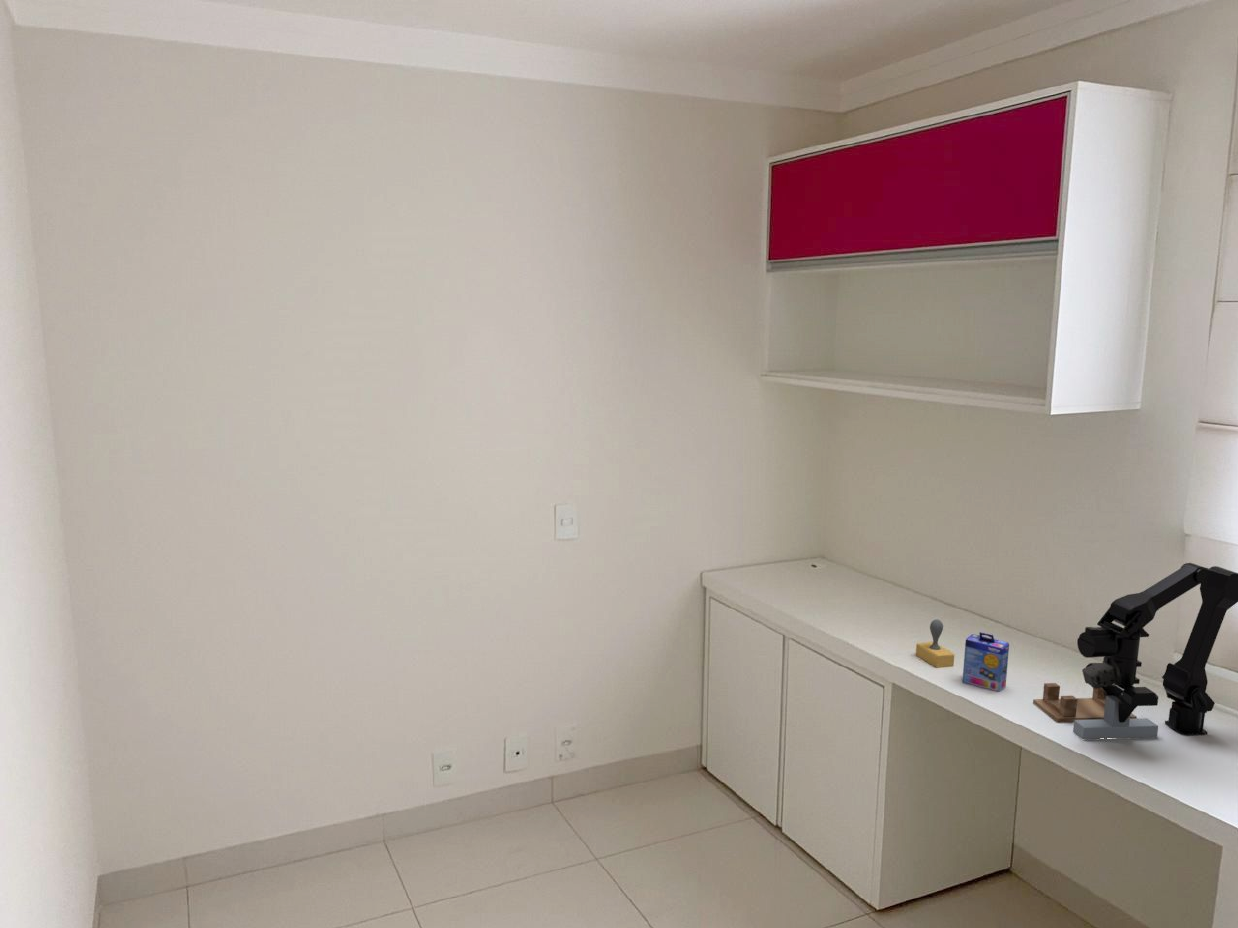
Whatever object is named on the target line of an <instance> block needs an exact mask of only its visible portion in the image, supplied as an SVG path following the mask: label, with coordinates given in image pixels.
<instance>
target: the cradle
mask: <svg viewBox="0 0 1238 928" xmlns="http://www.w3.org/2000/svg"><path fill="white" fill-rule="evenodd" d="M1060 689H1061V686H1060V685H1059V684H1058V683H1056V682H1050V683H1048V682H1046V683H1045V682H1044V683H1043V692H1042V698H1036V699H1035V698H1034V699H1033V700H1032V703H1033V705H1035V706H1036V707H1037V708H1039V709H1040V711H1042V710H1043V711H1042V712H1044V713H1045V714H1046V715H1047V716H1048V715H1049V718H1051V717H1052V718H1051V719H1052V720H1053V719H1054V720H1053V721H1055V722H1056V723H1074V720H1096V719H1103V718H1104V709H1105V696H1104V693H1103V690H1102V689H1101V688H1098V689H1095V688H1093V687H1092V697H1085V698H1084V697H1083V698H1082V697H1080V698H1079V697H1076V696H1074V695H1060V691H1061V690H1060ZM1130 719H1137V716H1136V714H1134V713H1133V712H1132V713H1131V714H1130Z"/></svg>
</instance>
